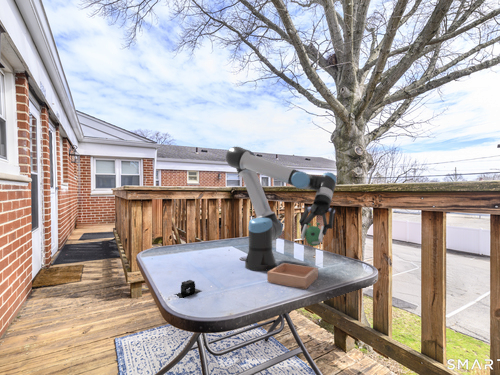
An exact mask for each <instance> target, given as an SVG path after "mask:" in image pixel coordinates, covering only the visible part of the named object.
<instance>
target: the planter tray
mask: <svg viewBox="0 0 500 375" xmlns="http://www.w3.org/2000/svg"><path fill="white" fill-rule="evenodd" d="M318 268H319V267H313V266H306V265H300V264H293V263H288V262H287V263H286V262H282V263H281V264H278V265H276V267H275V268H273V269H271V270H267V271H266V272H267V275H266V276H267V279H266V280H267V282H268V283H271V284H276V285H281V286H282V285H283V286H287V287H292V288H298V289H302V290H307V289H308V288H309V287H310V286H311V285H312V284H313V283H314V282H315V281H316V280H317V279H318V278H319V269H318Z"/></svg>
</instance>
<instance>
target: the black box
mask: <svg viewBox="0 0 500 375" xmlns="http://www.w3.org/2000/svg"><path fill="white" fill-rule="evenodd" d="M180 292H181V293H180ZM180 292H178V294H177V293H175V294H174V295H177V296H179V298H178V299H180V298H184V299H186V298H188V297H191V296H193V295H194V296H195V295H196V294H199V293H201V292H203V290H201V289H198V288H196V283H195V280H191V279H189V280H188V279H187V280H186V281H181V285H180Z"/></svg>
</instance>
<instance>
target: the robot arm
mask: <svg viewBox="0 0 500 375" xmlns="http://www.w3.org/2000/svg"><path fill="white" fill-rule="evenodd" d="M225 160H226V163H227V164H228V165H229V166H230V167H231V168H234V169H236V172H237V175H238V176H240V177H241V178H242V181H243V182H244V185H245V188H246V191H247V194H248V196H249V199H250V202H251V205H252V207H253V210H254V214H255V215H256V217H254V218H252V219H250V220H249V222H248V228H247V229H248V253H247V255H246V258H245V261H244V267H245V269H247V270H252V271H261V272H263V271H270V270H272V269H273V268H275V267H277V261H276V258H275V256H274V252H273V241H276V240H277V239H278V238H279V237H280V236H281V235H282V233H283V231H284V230H283V229H284V226H283V223H282V222H281V220H280V219H278V218H277V215H276V213H275V212H274V211H272V209H271V207H270V204H269V202H268V199H267V196H266V194H265V191H264V188H263V186H262V183H261V180H260V177H259V176H258V174H260V175H262V176H266V177H268V178H271V179H274V180H276V181H280V182H283V183H285V184H286V185H287V184H288V185H290V186H293V187H295V189H299V190H300V189H303V190H310V191H311V190H312V191H316V193H315V196H314V198H313V199H314V200H313V203H312V205H310V206H307V205H306V206H305V207H304V211H303V213H302V215H301V217H300V218H299V219H300V220H299V225H300V226H301V228H300V231H301V234H300V238H301V240H302V241H304V240H305V239H306V237H305V234H306V230H307V229H308V228H309V227H308V226H309V225H308V224H309V223H311V222H312V221H313V219H314V218H316V216H320V217H322V221H323V225H321V228H320V230H321V231H320V234H319V238H318V239H319V242H320V243H322V242H323V238H324V236H326V235H327V232H328V229H330V230H332V229H333V226H334V219H335V218H334V217H335V214H336V209H335V207H330V206H331V203H332V199H333V197H334V192H335V188H336V187H337V186H336V185H337V181H338V180H337V179H338V178H337V176H336V174H334V173H332V172H328V171H327V172H325V173H323V174H322V175H314V174H308V173H306V172H304V171H300V170H297V169H295V168H291V167H288V166H285V165H282V164H279V163H277V162H273V161H270V160H268V159H264V158H263V157H259V156H256V154H254V152H252V151H251V150H250V149H249V150H248V149H246V148H243V147H241V146H233V147H231V148H229V149H228V150H227V152H226V154H225ZM327 213H329V216H328V217H329V218H328V222H327V215H326V214H327Z"/></svg>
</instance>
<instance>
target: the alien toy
mask: <svg viewBox="0 0 500 375" xmlns="http://www.w3.org/2000/svg"><path fill="white" fill-rule="evenodd" d="M320 225H321V223H320V222H316V225H312V223H311V222H310V223H309V224H308V225H307V226H309V227H308V229H307V230H306V234H305V240H306V243H307V244H308V245H310V246H312V247H313V246H314V247H315V246H318V245H320V243H321V242H319V239H318V238H319V234H320V231H321V228H320V227H319V226H320Z"/></svg>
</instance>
